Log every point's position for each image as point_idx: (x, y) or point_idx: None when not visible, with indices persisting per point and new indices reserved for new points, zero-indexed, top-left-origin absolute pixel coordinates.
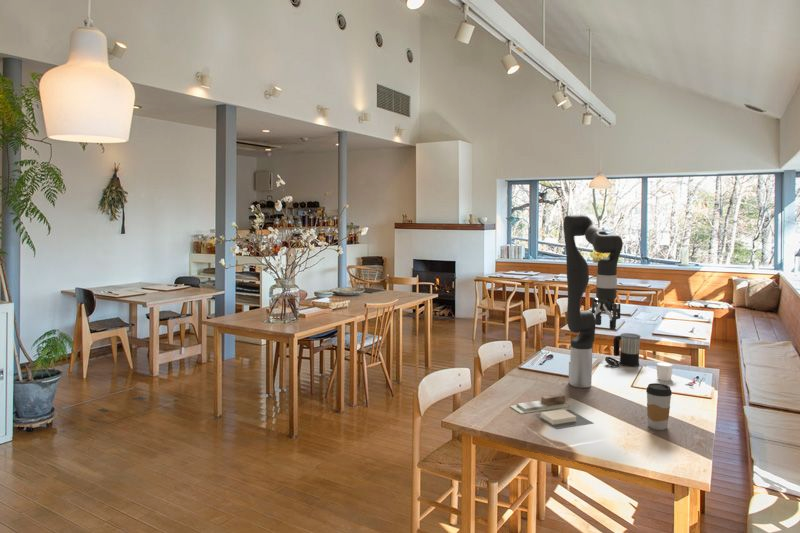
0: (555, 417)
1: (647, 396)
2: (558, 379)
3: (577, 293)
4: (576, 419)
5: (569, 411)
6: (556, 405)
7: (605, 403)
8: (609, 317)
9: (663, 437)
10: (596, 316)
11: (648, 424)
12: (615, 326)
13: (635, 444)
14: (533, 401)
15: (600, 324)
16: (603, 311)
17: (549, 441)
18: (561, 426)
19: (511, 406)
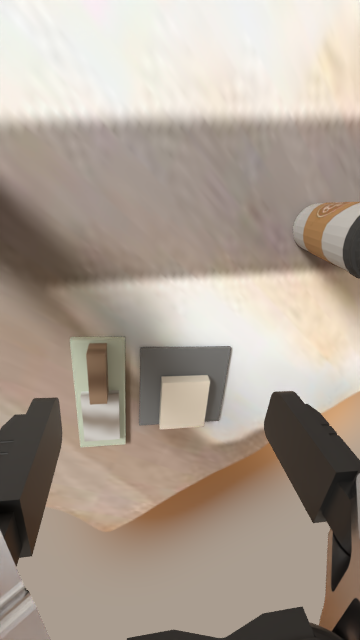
0: (195, 417)
1: (345, 269)
2: None
3: None
4: (197, 367)
5: (152, 355)
6: (111, 365)
7: (126, 225)
8: (328, 561)
9: None
10: (27, 550)
11: (301, 247)
12: (321, 420)
13: (332, 335)
14: (82, 408)
15: (57, 403)
16: (27, 594)
17: (244, 443)
18: (212, 408)
19: (84, 446)
